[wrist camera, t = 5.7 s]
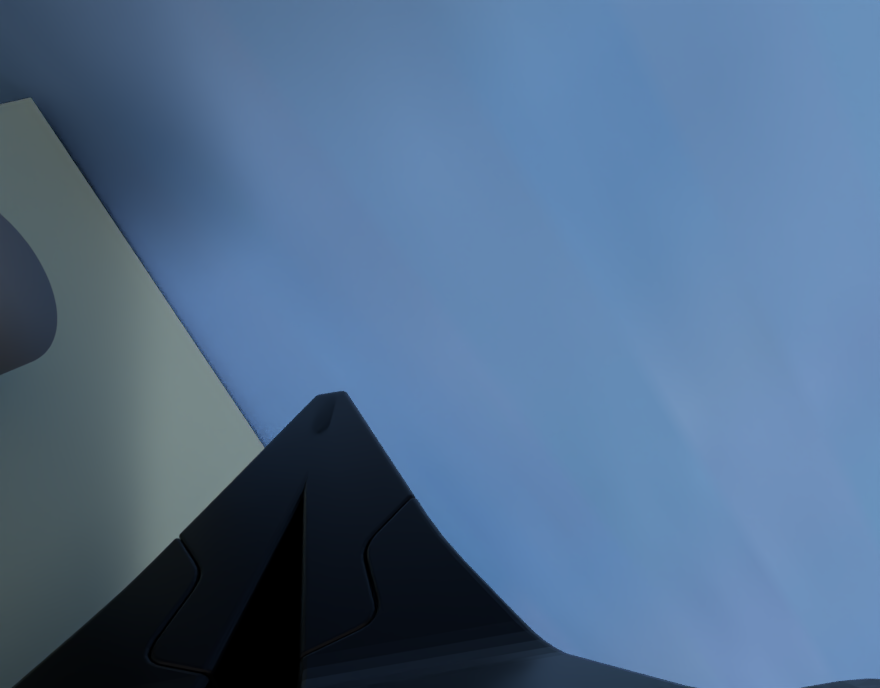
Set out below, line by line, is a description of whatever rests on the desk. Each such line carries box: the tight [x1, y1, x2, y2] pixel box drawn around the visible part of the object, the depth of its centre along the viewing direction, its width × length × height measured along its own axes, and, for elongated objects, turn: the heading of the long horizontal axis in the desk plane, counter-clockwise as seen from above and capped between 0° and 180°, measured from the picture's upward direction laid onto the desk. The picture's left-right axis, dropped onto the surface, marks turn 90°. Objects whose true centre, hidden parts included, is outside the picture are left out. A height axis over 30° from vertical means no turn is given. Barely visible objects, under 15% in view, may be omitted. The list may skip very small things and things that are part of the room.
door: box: [0, 98, 264, 688], centre depth 11 cm, size 18×3×7 cm, turn 21°
